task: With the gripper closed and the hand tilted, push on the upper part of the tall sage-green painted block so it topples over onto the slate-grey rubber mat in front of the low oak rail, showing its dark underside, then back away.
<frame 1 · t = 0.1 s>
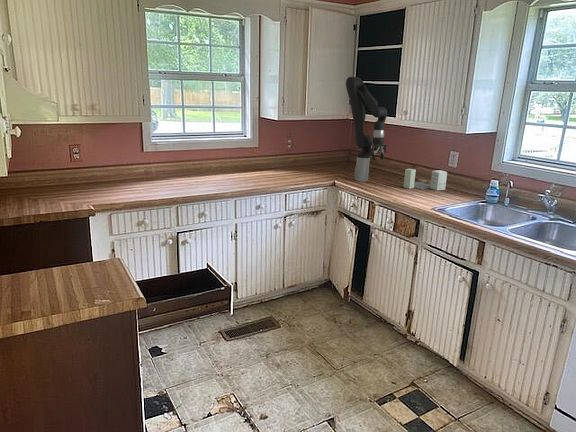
hand: (377, 159, 313), 17 cm above the worktop, tool pointing down, fingers open, 8 cm apart
block: (408, 187, 309), on the worktop
mat: (419, 185, 317), on the worktop
rail: (427, 184, 323), on the worktop
supplement box: (437, 189, 309), on the worktop
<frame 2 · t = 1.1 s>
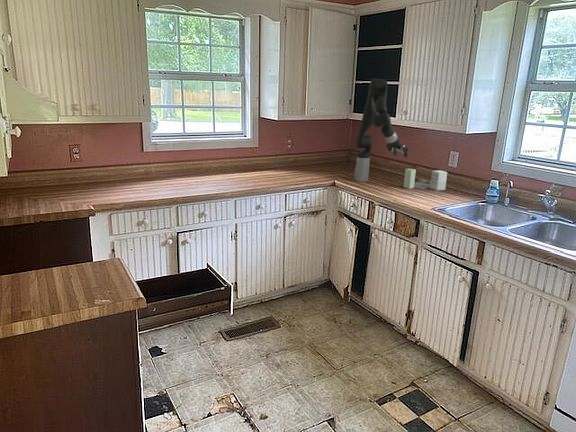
hand: (401, 155, 295), 23 cm above the worktop, tool tilted 45°, fingers open, 8 cm apart
nothing on the worktop moved.
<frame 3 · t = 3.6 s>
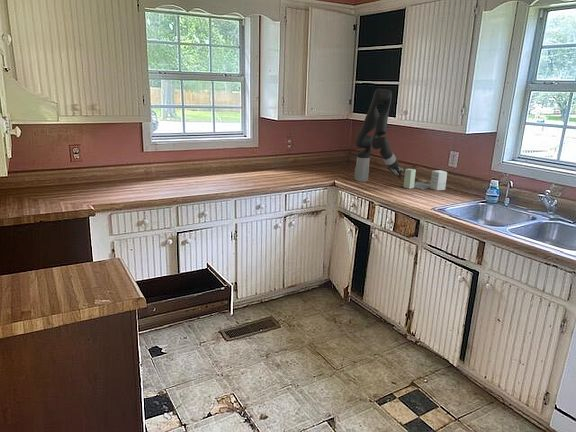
hand: (400, 176, 301), 9 cm above the worktop, tool tilted 45°, fingers closed
nothing on the worktop moved.
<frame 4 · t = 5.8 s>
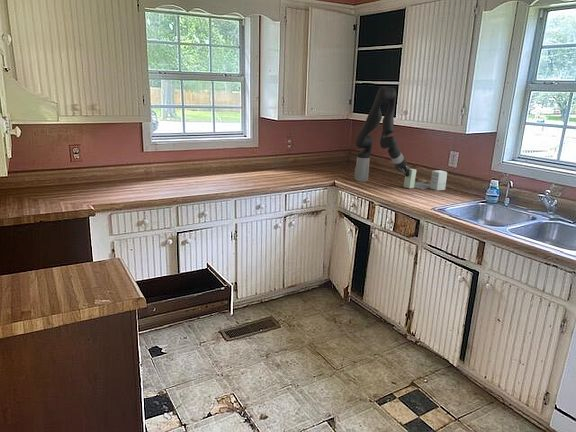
hand: (407, 175, 305), 9 cm above the worktop, tool tilted 45°, fingers closed
block: (408, 187, 309), on the worktop, touching gripper
everything else where it was.
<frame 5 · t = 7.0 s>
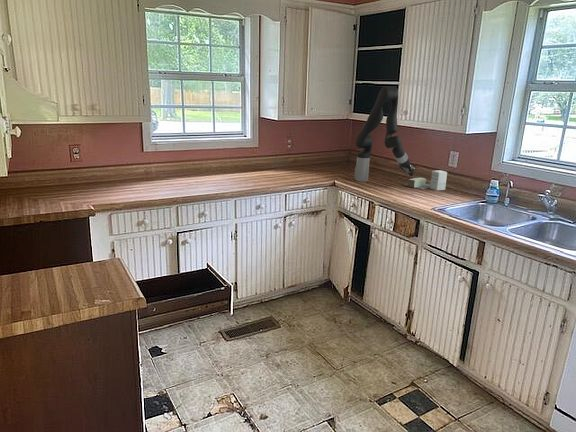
hand: (411, 175, 308), 9 cm above the worktop, tool tilted 45°, fingers closed
block: (411, 183, 310), point 3 cm above the worktop, tilted 90°, touching mat
everything else where it was.
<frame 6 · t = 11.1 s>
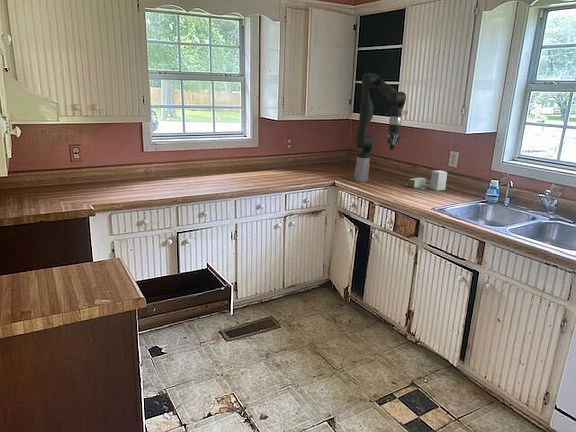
hand: (391, 150, 294), 27 cm above the worktop, tool pointing down, fingers closed
nothing on the worktop moved.
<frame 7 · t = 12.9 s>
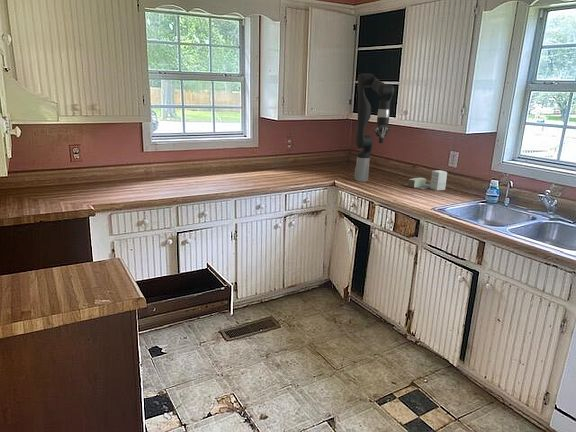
hand: (380, 143, 293), 31 cm above the worktop, tool pointing down, fingers closed
nothing on the worktop moved.
at the end: block tilted 90°; block inside the target area (9.0 cm from its centre), point 2.9 cm above the worktop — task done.
